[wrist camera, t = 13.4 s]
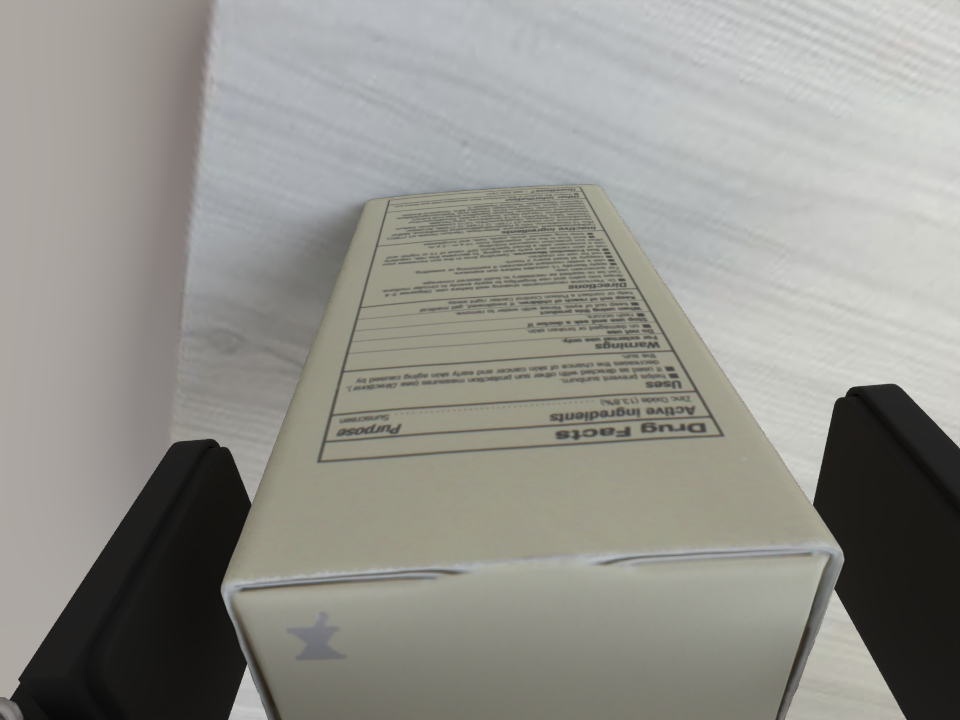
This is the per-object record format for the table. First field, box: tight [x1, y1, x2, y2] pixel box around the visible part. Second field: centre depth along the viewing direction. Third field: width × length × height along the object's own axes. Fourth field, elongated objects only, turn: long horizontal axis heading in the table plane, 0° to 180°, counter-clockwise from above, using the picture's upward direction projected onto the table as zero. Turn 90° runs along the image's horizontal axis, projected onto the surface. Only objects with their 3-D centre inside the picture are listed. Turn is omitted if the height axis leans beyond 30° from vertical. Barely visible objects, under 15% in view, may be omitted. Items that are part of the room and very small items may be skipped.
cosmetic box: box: [221, 184, 844, 720], centre depth 12 cm, size 6×4×12 cm
